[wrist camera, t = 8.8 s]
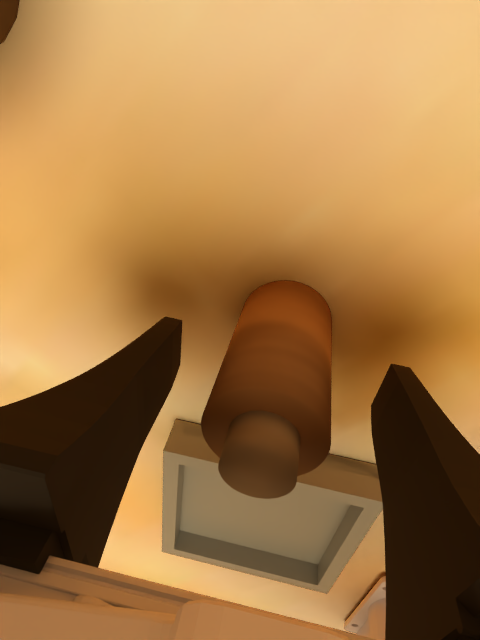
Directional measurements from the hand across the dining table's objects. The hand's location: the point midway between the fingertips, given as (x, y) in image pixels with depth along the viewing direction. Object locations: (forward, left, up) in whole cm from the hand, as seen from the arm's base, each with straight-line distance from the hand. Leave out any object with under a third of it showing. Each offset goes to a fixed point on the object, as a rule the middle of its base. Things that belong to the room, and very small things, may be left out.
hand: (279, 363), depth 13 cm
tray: (-13, -1, -3) cm, 13 cm away
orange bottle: (0, 0, -3) cm, 3 cm away
